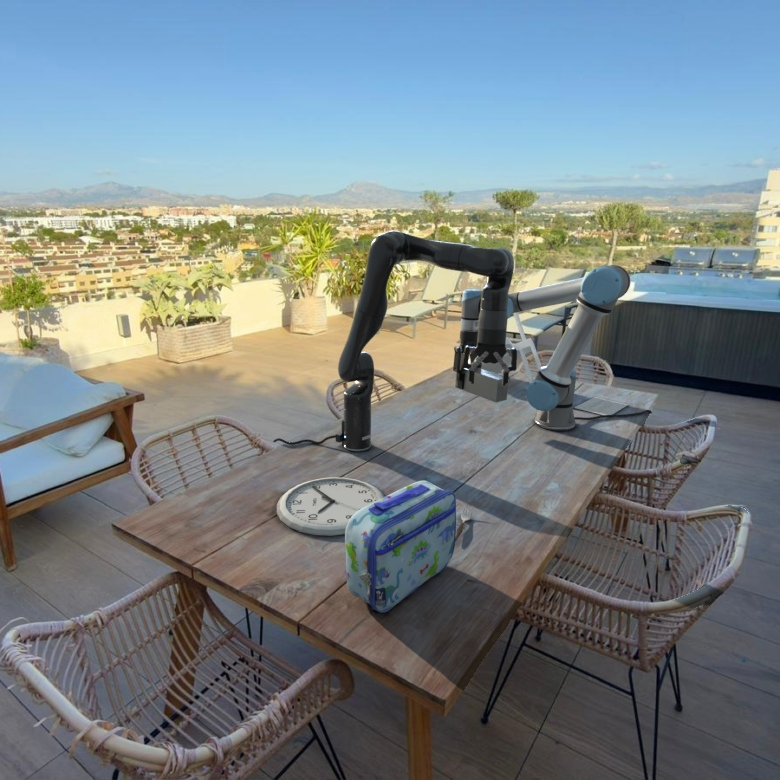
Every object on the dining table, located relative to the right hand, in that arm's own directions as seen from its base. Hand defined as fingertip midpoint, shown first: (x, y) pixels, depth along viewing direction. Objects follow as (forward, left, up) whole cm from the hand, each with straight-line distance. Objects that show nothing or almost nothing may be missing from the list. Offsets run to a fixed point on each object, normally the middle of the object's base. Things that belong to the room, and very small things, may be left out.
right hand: (466, 386), depth 209 cm
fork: (+2, +84, -12) cm, 85 cm away
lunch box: (+15, +108, -12) cm, 110 cm away
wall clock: (+37, +78, -12) cm, 87 cm away
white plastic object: (-18, -49, -12) cm, 53 cm away
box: (-5, +6, -1) cm, 8 cm away
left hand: (-4, +62, +20) cm, 65 cm away
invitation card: (-59, -21, -12) cm, 64 cm away
